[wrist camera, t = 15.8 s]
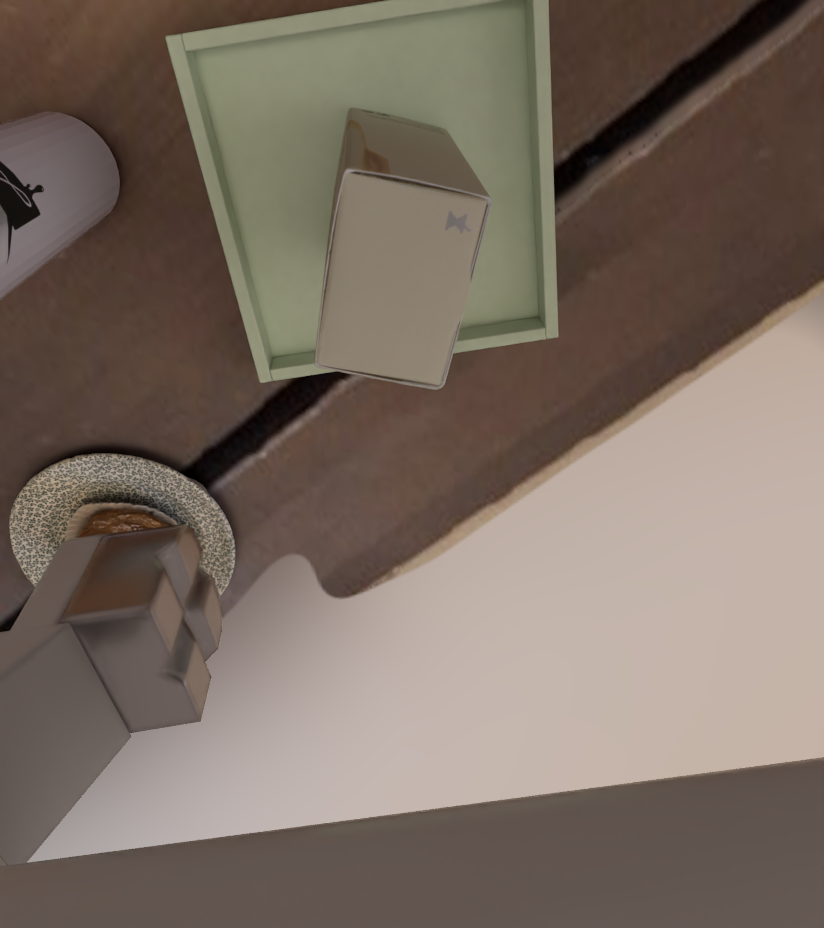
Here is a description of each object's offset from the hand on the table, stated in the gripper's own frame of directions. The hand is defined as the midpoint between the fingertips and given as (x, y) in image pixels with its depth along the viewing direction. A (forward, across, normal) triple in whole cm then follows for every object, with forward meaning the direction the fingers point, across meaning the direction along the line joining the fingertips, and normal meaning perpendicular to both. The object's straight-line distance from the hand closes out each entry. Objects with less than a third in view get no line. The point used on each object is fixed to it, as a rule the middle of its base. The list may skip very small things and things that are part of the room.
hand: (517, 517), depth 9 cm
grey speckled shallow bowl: (+26, +18, +17) cm, 36 cm away
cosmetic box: (+26, +1, +1) cm, 26 cm away
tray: (+26, +1, +1) cm, 26 cm away
